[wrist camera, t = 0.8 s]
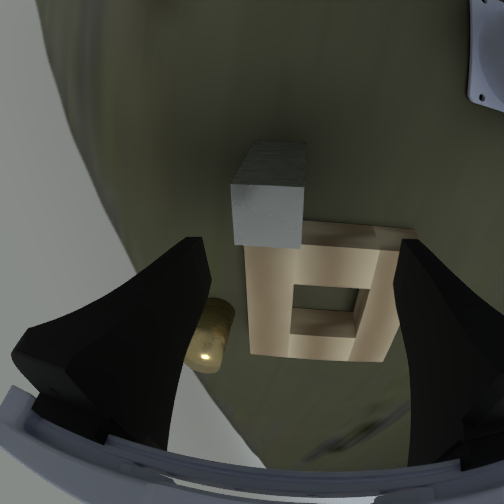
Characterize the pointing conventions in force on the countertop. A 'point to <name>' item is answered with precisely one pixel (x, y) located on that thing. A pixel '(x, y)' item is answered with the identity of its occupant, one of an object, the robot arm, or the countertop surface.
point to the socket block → (326, 274)
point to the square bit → (269, 196)
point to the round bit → (210, 336)
